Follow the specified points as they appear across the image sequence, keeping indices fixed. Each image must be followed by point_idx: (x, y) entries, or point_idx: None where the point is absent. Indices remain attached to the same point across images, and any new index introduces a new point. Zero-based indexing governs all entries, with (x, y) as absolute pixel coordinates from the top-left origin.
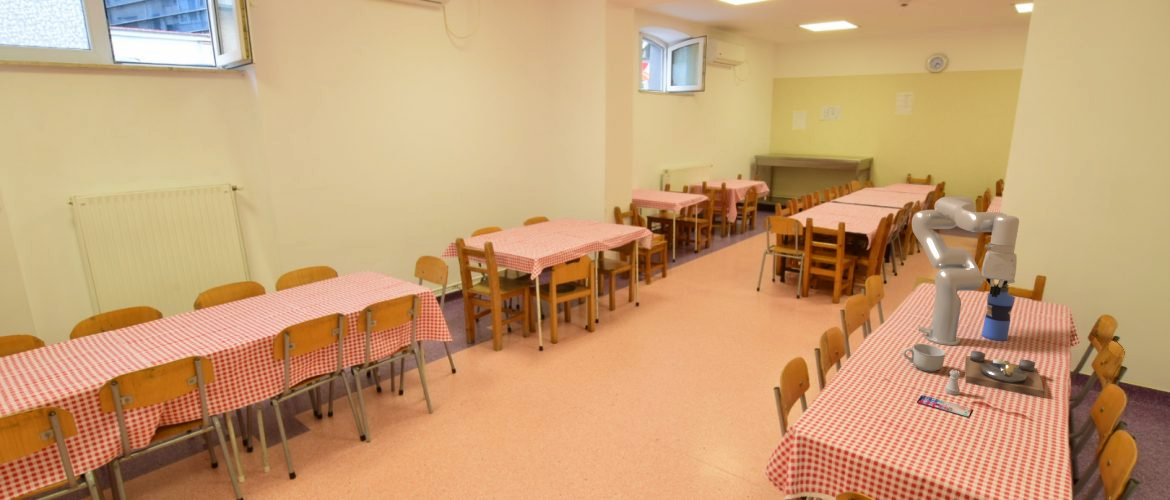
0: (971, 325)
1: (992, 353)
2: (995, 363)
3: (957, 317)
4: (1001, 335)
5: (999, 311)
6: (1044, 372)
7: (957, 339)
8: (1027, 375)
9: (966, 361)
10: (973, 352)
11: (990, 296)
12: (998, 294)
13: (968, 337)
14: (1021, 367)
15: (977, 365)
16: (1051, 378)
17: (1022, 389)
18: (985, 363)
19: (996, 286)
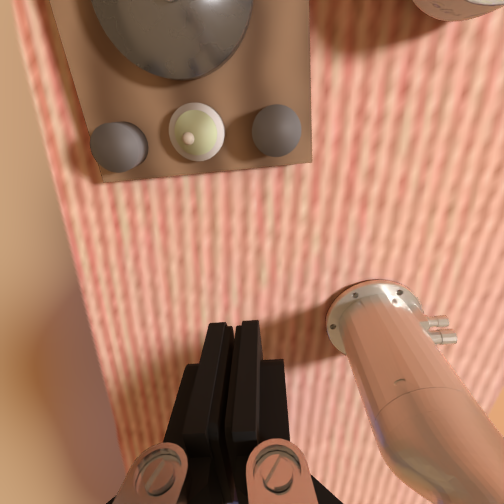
0: None
1: (239, 289)
2: (209, 63)
3: (368, 373)
4: None
5: None
6: (100, 215)
7: (334, 330)
8: (109, 74)
9: (309, 88)
10: (293, 128)
11: None
12: (198, 364)
13: (304, 376)
14: (134, 128)
15: (270, 65)
16: (73, 173)
17: None
18: (243, 30)
19: (221, 476)
